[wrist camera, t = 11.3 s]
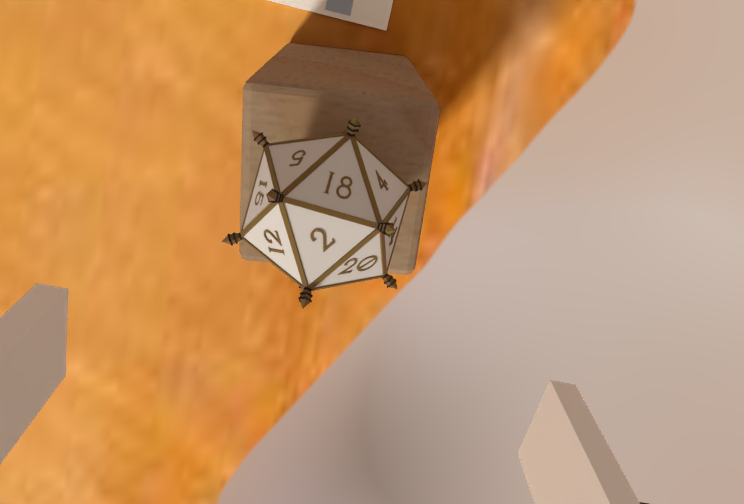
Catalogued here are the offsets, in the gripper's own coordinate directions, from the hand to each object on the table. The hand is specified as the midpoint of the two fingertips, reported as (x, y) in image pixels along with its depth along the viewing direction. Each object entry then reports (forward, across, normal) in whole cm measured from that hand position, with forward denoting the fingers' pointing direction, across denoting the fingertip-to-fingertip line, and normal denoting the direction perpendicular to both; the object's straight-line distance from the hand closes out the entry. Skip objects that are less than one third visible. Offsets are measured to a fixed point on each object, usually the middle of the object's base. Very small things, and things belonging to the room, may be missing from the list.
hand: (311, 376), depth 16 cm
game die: (+17, 0, 0) cm, 17 cm away
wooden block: (+37, 0, 0) cm, 37 cm away
